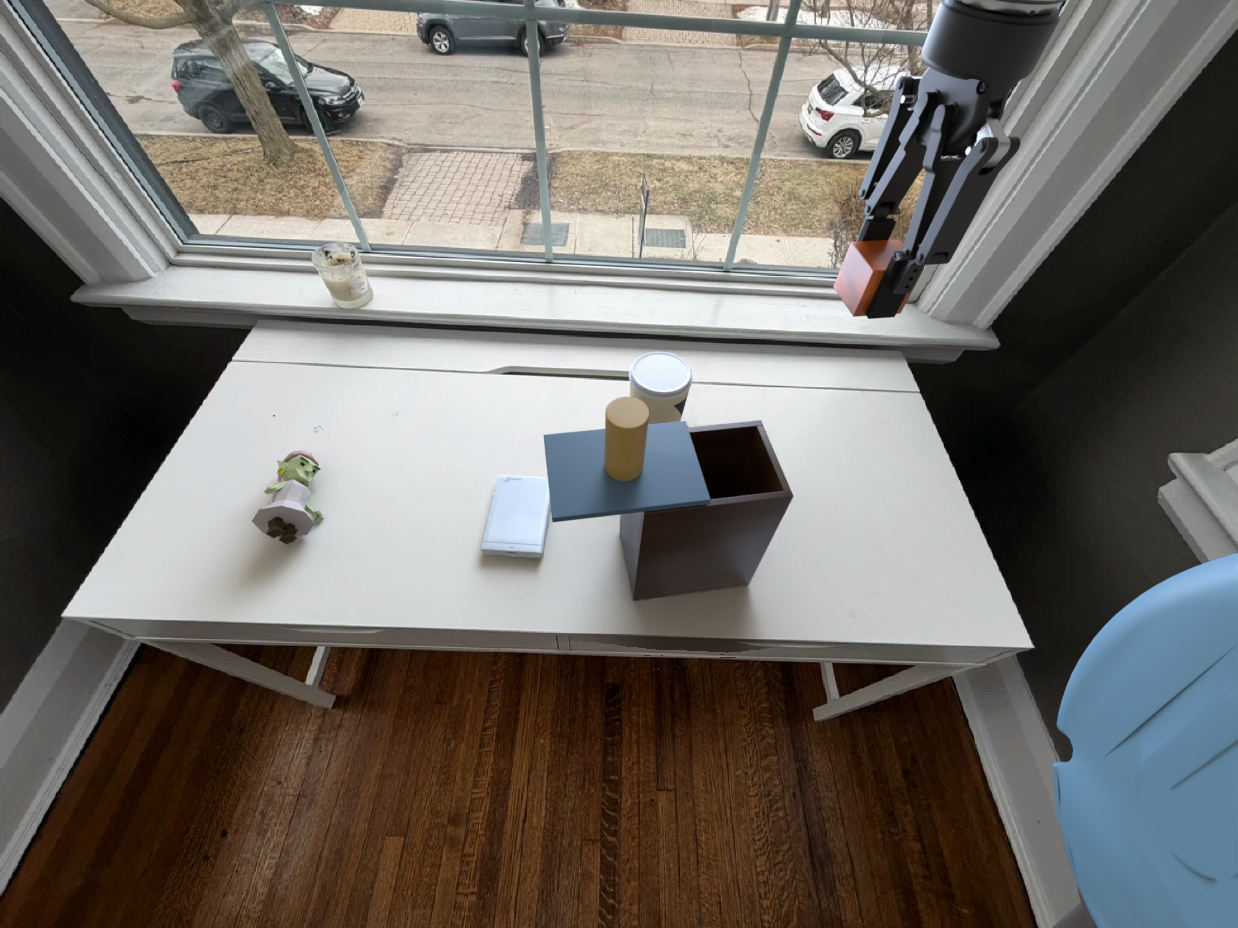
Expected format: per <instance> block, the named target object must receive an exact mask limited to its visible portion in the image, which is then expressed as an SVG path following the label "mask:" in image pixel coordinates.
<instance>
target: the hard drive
mask: <svg viewBox="0 0 1238 928" xmlns="http://www.w3.org/2000/svg"><path fill="white" fill-rule="evenodd" d="M496 478H497V479H496V483H495V487H494V492H493V496H492V500H491V505H490V508H489V512H488V516H487V517H488V518H487V520H486V521H487V522H486V524H485V525H486V526H485V530H484V534H483V539H482V542H481V543H482V544H481V548H480V552H481V555H485V556H498V557H499V556H500V557H502V556H503V557H515V558H529V559H530V558H531V559H542V558H543V556H544V549H545V543H546V536H547V532H548V531H547V530H548V524H549V518H550V513H551V504H550V494H549V485H548V477H546V476H545V477H544V476H527V475H509V474H508V475H507V474H499V475H497V477H496Z"/></svg>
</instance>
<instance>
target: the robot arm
mask: <svg viewBox="0 0 1238 928" xmlns="http://www.w3.org/2000/svg"><path fill="white" fill-rule="evenodd" d="M1066 1H1067V0H940V2H939V5H938V7H937V11H936V12H935V16H934V18H933V21H932V22H931V26H930V28H929V30H928V34H927V36H926V38H925V42H924V44H923V46H922V49H921V59H922V61H923V62H924V64H925V65H926V66H927V69H926V70H925V71H924V73H923V74H922V75H901V76H899V78H898V79H897V81H896V84H895V88H894V93H893V97H892V102H891V107H890V110H889V112H888V116H887V118H886V121H885V123H884V126H883V128H882V131H881V134H880V136H879V138H878V141H877V144H876V146H875V150H874V151H873V155H872V157H871V160H870V162H869V165H868V167H867V169H866V173H865V175H864V177H863V181H862V183H861V186H860V188H859V191H858V199H859V200H860V201H864V202H865V206H864V209H863V210H864V211H863V213H864V215H865V217H864V220H863V222H862V225H861V227H860V230H859V231H858V235H857V237H856V241H877V240H890V238H891V235H892V233H893V231H894V228H895V227H896V224H897V221H896V220H895V218H893V217H888V216H899V215H901V214H902V211H901V209H900V207H899V206H900V204H901V203H902V201H903V200H904V198H905V196H906V195H907V194H908V192H909V190H911V187H912V186H913V184H914V182H915V181H916V179H917V178H918V176H919V175H920V173H921V172H922V170H923V169H924V171H925V174H924V178H923V180H922V184H921V188H920V190H919V194H918V196H917V201H916V204H915V207H914V210H913V214H912V216H911V220H910V224H909V227H908V230H907V234H906V236H905V240H904V243H903V244H904V247H903V250H902V251H894V253H893V255H892V258H891V260H890V262H889V264H888V266H887V268H886V270H885V273H884V275H883V277H882V279H881V281H880V283H879V286H878V288H877V290H876V292H875V294H874V296H873V298H872V301H871V303H870V305H869V307H868V309H867V311H866V313H865V315H866V316H865V317H866V318H867V319H868V320H873V319H874V320H875V319H888V318H895V317H896V316H897V314H896V313H897V311H898V309H899V308H900V306H901V304H902V302H903V300H904V298H905V296H906V294H907V293H910V292H911V291H912V290H913V291H914V289H915V287H916V285H917V283H918V281H919V279H920V278H919V276H920V274H921V273H922V274H923V272H922V271H924V270H925V267H926V266H933V265H947V264H949V263H950V261H951V260H952V258H953V256H954V255H955V253H956V252H957V249H958V248H959V246H960V244H961V242H962V240H963V238H964V237H965V235H966V233H967V231H968V230H969V228H970V226H971V224H972V222H973V220H974V218H975V216H976V215H977V213H978V211H979V209H980V208H981V206H982V204H983V202H984V201H985V198H986V197H987V195H988V193H989V191H990V189H991V187H992V186H993V184H994V182H995V180H996V179H997V176H998V175H999V173H1000V172H1001V171H1002V170H1003V169H1004V167H1005V166H1006V165H1007V164H1008V163H1009V162H1010V161H1011V159H1013V157H1014V156H1015V155H1016V154H1017V153H1018V151H1019V150H1020V147H1021V138H1020V137H1019V136H1015V135H1014V136H1013V135H1012V136H1007V135H1006V133H1005V131H1004V129H1003V127H1002V124H1001V120H1002V118H1003V116H1004V113H1005V108H1006V105H1007V100H1008V97H1009V94H1010V92H1011V91H1012V89H1013V88H1014V87H1015V86H1016V85H1017V84H1018V83H1019V82H1021V81H1023V80H1024V79H1026V78H1028V77H1029V75H1031V74H1032V72H1034V70H1035V68H1036V66H1037V64H1038V62H1039V60H1040V59H1041V57H1042V55H1043V53H1044V51H1045V49H1046V47H1047V45H1049V44H1048V43H1049V42H1050V40H1051V38H1052V36H1053V35H1054V32H1055V30H1056V28H1057V27H1058V25H1059V23H1060V21H1061V16H1060V14H1061V12H1060V10H1059V8H1057V7H1056V6H1057V4H1060V3H1063V2H1066ZM945 157H946V158H945ZM875 183H877V184H876V185H875ZM856 241H855V242H856ZM923 269H924V270H923ZM922 274H921V275H922ZM920 277H921V276H920ZM918 278H919V279H918ZM917 280H918V281H917ZM916 282H917V283H916ZM915 284H916V285H915ZM914 286H915V287H914ZM913 288H914V289H913ZM913 291H912V292H913ZM1060 702H1061V703H1060V705H1059V709H1058V714H1057V720H1056V728H1057V729H1058V731H1059V732H1060V733H1061V734H1063V735H1065V736H1066V737H1067V738H1068V739H1069V741H1070V744H1071V748H1072V755H1071V759H1070V760H1068V761H1056V762H1055V763H1054V764H1053V765H1052V781H1053V782H1052V783H1053V792H1054V793H1053V794H1054V801H1055V809H1056V814H1057V818H1058V819H1057V820H1058V823H1059V827H1060V830H1061V834H1062V840H1063V844H1064V848H1065V853H1066V858H1067V860H1068V864H1069V867H1070V869H1071V872H1072V875H1073V878H1074V881H1075V884H1076V888H1077V892H1078V898H1079V901H1080V902H1079V903H1077V904H1076V906H1075V907H1074V908H1073V909H1071V910H1070V911H1069V912H1068V913H1067V914H1065V916H1063V917H1062V918H1061V919H1060V920H1059V921H1058V922H1056V923H1055V924H1054V925H1053V926H1052V927H1051V928H1238V552H1237V553H1236V552H1235V553H1232V554H1229V555H1225V556H1223V557H1218V558H1216V559H1213V560H1208V561H1206V562H1204V563H1201V564H1198V565H1195V566H1193V567H1190V568H1188V569H1186V570H1183V571H1181V572H1179V573H1176V574H1174V575H1172V576H1171V577H1169V578H1166V579H1165V580H1163V581H1161V582H1159V583H1158V584H1156V585H1154V586H1152V587H1151V588H1149V589H1148V590H1146V591H1144V592H1143V593H1141V594H1140V595H1138V596H1137V597H1136V598H1135V599H1133V600H1132V601H1131V602H1129V603H1128V604H1126V605H1125V606H1124V607H1123V608H1122V609H1120V610H1119V611H1118V612H1117V613H1115V615H1114V616H1112V617H1111V619H1110V620H1108V622H1107V623H1106V624H1104V626H1103V627H1102V628H1101V630H1099V631H1098V633H1097V634H1096V635H1095V636H1094V637H1093V638H1092V640H1091V642H1090V643H1089V644H1088V646H1087V647H1086V649H1085V650H1084V652H1083V653H1082V655H1081V656H1080V657H1079V659H1078V661H1077V662H1076V665H1075V667H1074V669H1073V671H1072V672H1071V674H1070V677H1069V679H1068V682H1067V684H1066V687H1065V689H1064V692H1063V695H1062V699H1061V701H1060Z"/></svg>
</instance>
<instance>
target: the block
mask: <svg viewBox="0 0 1238 928" xmlns="http://www.w3.org/2000/svg"><path fill="white" fill-rule="evenodd" d="M903 247H904V243H903V242H902V241H901V240H900V239H889V240H877V241H851V242H850V243H849V247H848V249H847V251H846V254H845V257H844V259H843V261H842V264H841V267H840V269H839V272H838V273H837V274H838V275H837V277H836V279H835V282H834V284H833V289H834V290H835V292H836V293H837V295H838V297H839V298H840V299H841V301H842V302H843V304H844V305H845V306H846V307H845V308H847V310H848V311H849V312H850V314H851V316H852V317H853V318H856V317H867V316H866V315H865V313H866V311H867V309H868V307H869V305H870V303H871V301H872V298H873V296H874V294H875V292H876V290H877V288H878V286H879V283H880V281H881V279H882V277H883V275H884V273H885V270H886V268H887V266H888V264H889V262H890V260H891V258H892V255H893V253H894V251H902V250H903ZM924 270H925V268H924V269H923V271H924ZM923 271H922V273H921V274H920V276H919V278H918V280H917V282H916V284H915V286H914V288H913V290H912V291H911V292H910V293H907V294H906V296H905V298H904V300H903V302H902V304H901V306H900V308H899V309H898V311H897V313H896V315H900V314H901V313H902V312H903V310H904V308H905V306H906V304H907V302H908V300H909V298H910V296H911V295H912V293H913V291H914V289H915V288H916V286H917V283H918V281H919V280H920V277H921V275H922V274H923Z"/></svg>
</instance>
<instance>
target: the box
mask: <svg viewBox="0 0 1238 928" xmlns="http://www.w3.org/2000/svg"><path fill="white" fill-rule="evenodd" d="M687 427H688V426H687ZM688 430H689V433H690V436H691V439H692V443H693V446H694V449H695V452H696V455H697V458H698V462H699V465H700V468H701V471H702V474H703V477H704V480H705V484H706V487H707V490H708V493H709V496H710V499H711V500H710V503H709V504H705V505H697V506H688V507H680V508H671V509H663V510H654V511H646V512H637V513H629V514H620V515H619V517H620V518H619V537H620V540H621V546H622V553H623V558H624V562H625V568H626V573H627V579H628V584H629V590H630V595H631V600H632V601H631V602H638V601H639V602H640V601H646V600H652V599H653V600H654V599H660V598H668V597H676V596H683V595H689V594H696V593H697V594H698V593H703V592H711V591H716V590H717V591H718V590H725V589H726V590H727V589H733V588H739V587H745V586H746V587H747V586H749V585H750V583H751V581H752V579H753V577H754V575H755V574H756V571H757V570H758V568H759V565H760V564H761V562H762V559H763V557H764V556H765V554H766V551H768V548H769V546H770V544H771V542H772V540H773V539H774V536H775V534H776V532H777V531H778V528H779V526H780V524H781V522H782V521H783V518H784V516H785V514H786V512H787V510H788V508H789V506H790V504H791V502H792V500H793V498H794V494H793V491H792V490H791V487H790V484H789V482H788V479H787V478H786V475H785V473H784V470H783V468H782V466H781V464H780V461H779V459H778V456H777V454H776V452H775V450H774V446H773V445H772V442H771V440H770V438H769V435H768V434H767V431H766V429H765V426H764V424H763V421H762V420H761V419H759V420H749V421H740V422H730V423H729V422H727V423H718V424H708V425H700V426H699V425H697V426H689V427H688Z"/></svg>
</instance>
